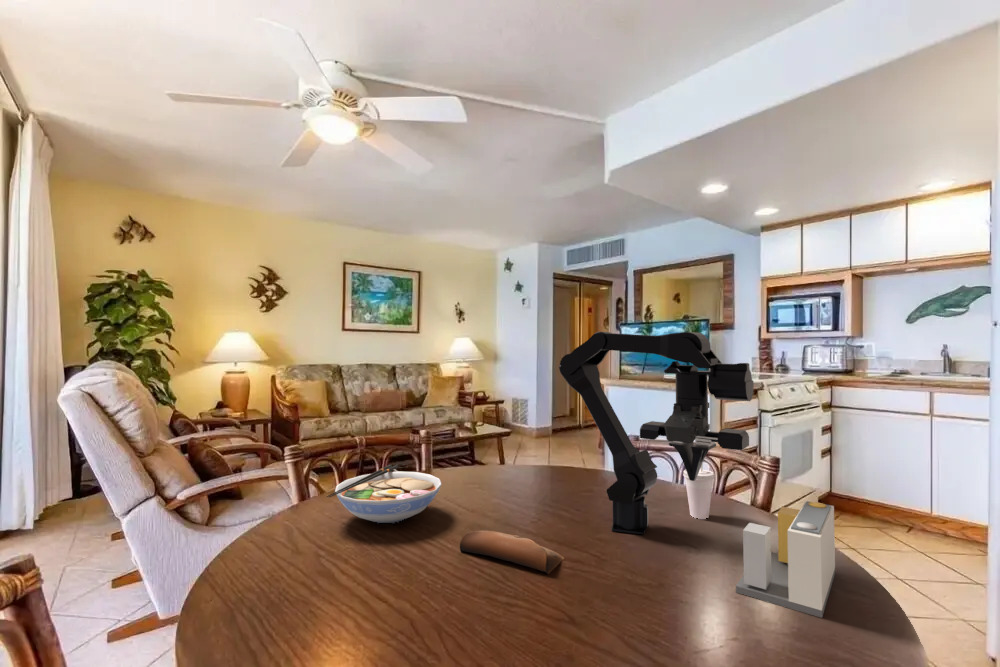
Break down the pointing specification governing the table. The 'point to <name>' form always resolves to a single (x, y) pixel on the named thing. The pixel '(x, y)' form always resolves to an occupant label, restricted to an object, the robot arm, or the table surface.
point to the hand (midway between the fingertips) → (692, 480)
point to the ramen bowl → (387, 494)
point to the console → (802, 564)
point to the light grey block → (757, 555)
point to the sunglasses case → (510, 549)
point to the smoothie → (699, 493)
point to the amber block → (784, 531)
